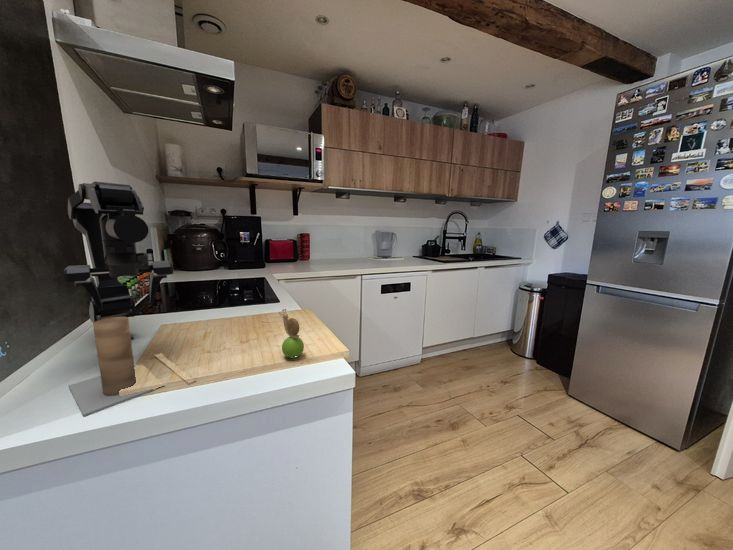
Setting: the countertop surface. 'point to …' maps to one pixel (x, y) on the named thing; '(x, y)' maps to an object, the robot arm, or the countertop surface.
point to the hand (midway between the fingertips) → (127, 306)
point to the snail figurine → (292, 337)
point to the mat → (97, 396)
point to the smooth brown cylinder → (114, 354)
